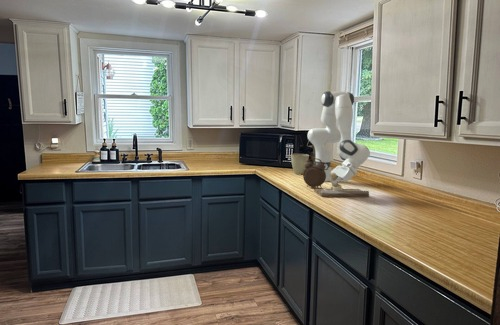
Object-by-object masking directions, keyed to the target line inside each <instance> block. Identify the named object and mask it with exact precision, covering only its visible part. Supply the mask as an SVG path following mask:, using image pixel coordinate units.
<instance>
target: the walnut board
mask: <svg viewBox="0 0 500 325" xmlns="http://www.w3.org/2000/svg"><path fill="white" fill-rule="evenodd" d="M313 192H314V194H317V195H319V196H320V197H321V198H369V197H370V191H369V190H361V189H360V188H342V190H341V191H331V188H313Z"/></svg>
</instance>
